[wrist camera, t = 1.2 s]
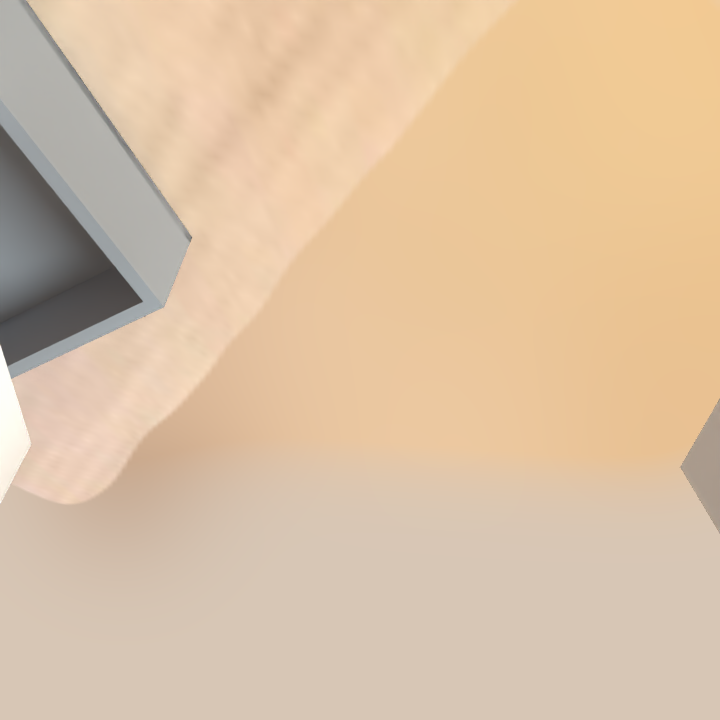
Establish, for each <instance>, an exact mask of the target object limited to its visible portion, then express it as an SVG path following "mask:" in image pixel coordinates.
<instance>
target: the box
mask: <svg viewBox="0 0 720 720" xmlns="http://www.w3.org/2000/svg"><path fill="white" fill-rule="evenodd" d="M191 239H192V236H191V235H190V234H189V232H188V231H187V229H186V228H185V226H184V225H183V224H182V222H181V221H180V219H179V218H178V216H177V215H176V214H175V212H174V211H173V209H172V208H171V206H170V205H169V204H168V202H167V201H166V199H165V198H164V197H163V195H162V194H161V192H160V191H159V189H158V188H157V187H156V185H155V184H154V182H153V181H152V179H151V178H150V177H149V175H148V174H147V172H146V171H145V169H144V168H143V167H142V165H141V164H140V162H139V161H138V159H137V158H136V157H135V155H134V154H133V152H132V151H131V149H130V148H129V147H128V145H127V144H126V142H125V141H124V139H123V138H122V137H121V135H120V134H119V132H118V131H117V129H116V128H115V127H114V125H113V124H112V122H111V121H110V119H109V118H108V117H107V115H106V114H105V112H104V111H103V109H102V108H101V107H100V105H99V104H98V102H97V101H96V99H95V98H94V97H93V95H92V94H91V92H90V91H89V90H88V88H87V87H86V85H85V84H84V82H83V81H82V80H81V78H80V77H79V75H78V74H77V72H76V71H75V70H74V68H73V67H72V65H71V64H70V62H69V61H68V60H67V58H66V57H65V55H64V54H63V52H62V51H61V50H60V48H59V47H58V45H57V44H56V42H55V41H54V40H53V38H52V37H51V35H50V34H49V32H48V31H47V30H46V28H45V27H44V25H43V24H42V22H41V21H40V20H39V18H38V17H37V15H36V14H35V12H34V11H33V10H32V8H31V7H30V5H29V4H28V2H27V1H26V0H0V345H1V348H2V352H3V355H4V358H5V361H6V364H7V368H8V371H9V374H10V377H11V379H12V378H14V377H16V376H18V375H20V374H22V373H25V372H27V371H29V370H31V369H33V368H35V367H37V366H39V365H42V364H44V363H46V362H48V361H50V360H52V359H54V358H57V357H59V356H61V355H63V354H65V353H67V352H69V351H71V350H74V349H76V348H78V347H80V346H82V345H84V344H86V343H88V342H91V341H93V340H95V339H97V338H99V337H101V336H103V335H106V334H108V333H110V332H112V331H114V330H116V329H118V328H120V327H123V326H125V325H127V324H129V323H131V322H133V321H135V320H137V319H140V318H142V317H144V316H146V315H148V314H150V313H152V312H155V311H157V310H159V309H161V308H163V307H164V306H165V303H166V301H167V298H168V296H169V293H170V291H171V288H172V286H173V284H174V281H175V279H176V276H177V274H178V271H179V269H180V266H181V264H182V261H183V259H184V256H185V254H186V251H187V249H188V246H189V244H190V241H191Z"/></svg>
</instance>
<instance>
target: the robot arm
mask: <svg viewBox="0 0 720 720" xmlns="http://www.w3.org/2000/svg"><path fill="white" fill-rule="evenodd" d="M30 446H31V442H30V438H29V435H28V432H27V429H26V425H25V422H24V419H23V416H22V413H21V409H20V406H19V403H18V400H17V397H16V393H15V390H14V387H13V384H12V381H11V377H10V374H9V371H8V368H7V364H6V361H5V358H4V355H3V352H2V348H1V345H0V503H1V501H2V500H3V498H4V496H5V494H6V492H7V490H8V488H9V486H10V484H11V482H12V480H13V478H14V476H15V475H16V473H17V471H18V469H19V467H20V465H21V463H22V461H23V459H24V457H25V455H26V453H27V451H28V450H29V448H30ZM681 469H682V471H683V472H684V474H685V476H686V477H687V479H688V481H689V483H690V484H691V486H692V488H693V489H694V491H695V492H696V494H697V496H698V498H699V499H700V501H701V503H702V504H703V506H704V508H705V509H706V511H707V513H708V514H709V516H710V518H711V520H712V521H713V523H714V525H715V526H716V528H717V530H718V531H719V533H720V399H719V401H718V403H717V405H716V406H715V408H714V410H713V412H712V413H711V415H710V416H709V418H708V420H707V422H706V423H705V425H704V427H703V429H702V430H701V432H700V434H699V435H698V437H697V439H696V441H695V442H694V444H693V446H692V448H691V449H690V451H689V453H688V455H687V456H686V458H685V460H684V461H683V463H682V465H681Z"/></svg>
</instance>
